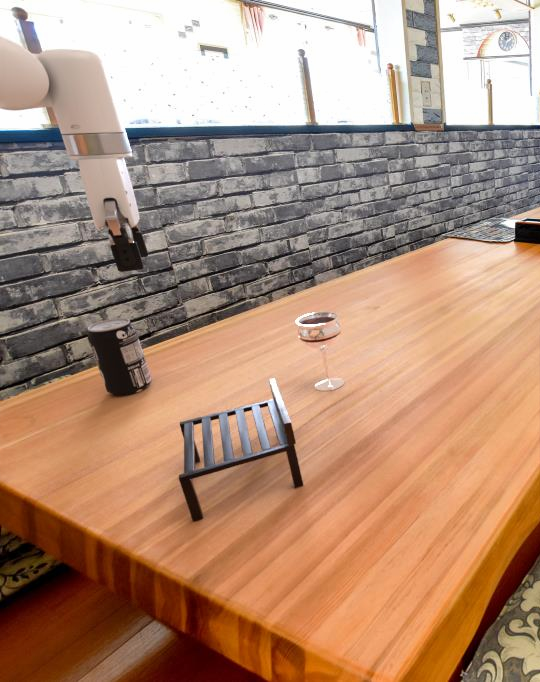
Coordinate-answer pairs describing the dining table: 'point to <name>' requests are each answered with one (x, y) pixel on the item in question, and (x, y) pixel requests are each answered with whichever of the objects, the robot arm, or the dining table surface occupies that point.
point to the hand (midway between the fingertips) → (134, 263)
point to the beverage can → (119, 356)
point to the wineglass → (321, 340)
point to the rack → (282, 432)
